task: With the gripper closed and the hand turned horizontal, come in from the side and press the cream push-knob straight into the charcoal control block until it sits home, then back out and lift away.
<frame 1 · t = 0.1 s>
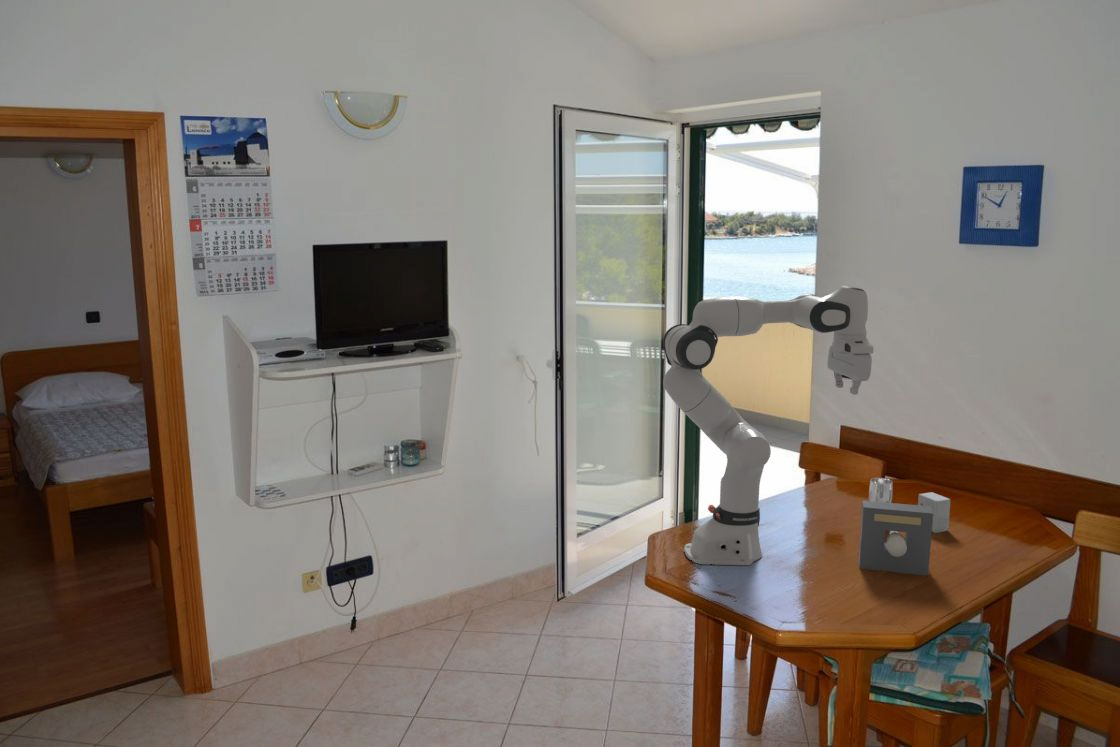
hand: (846, 390, 256), 48 cm above the table, tool pointing down, fingers open, 8 cm apart
control block: (892, 567, 251), on the table
knob: (895, 540, 247), point 9 cm above the table, slide at 0.0 cm
beer glass: (878, 526, 284), on the table
small box: (932, 528, 282), on the table
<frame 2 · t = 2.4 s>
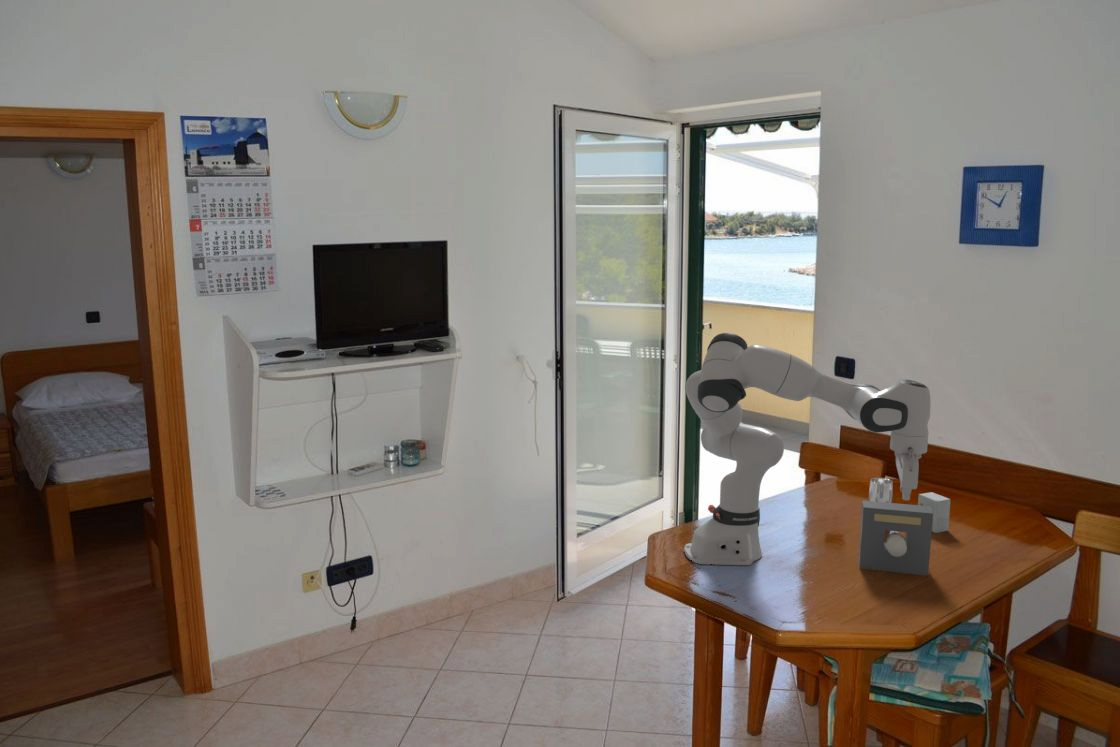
hand: (904, 495, 229), 27 cm above the table, tool pointing down, fingers open, 5 cm apart
nothing on the table moved.
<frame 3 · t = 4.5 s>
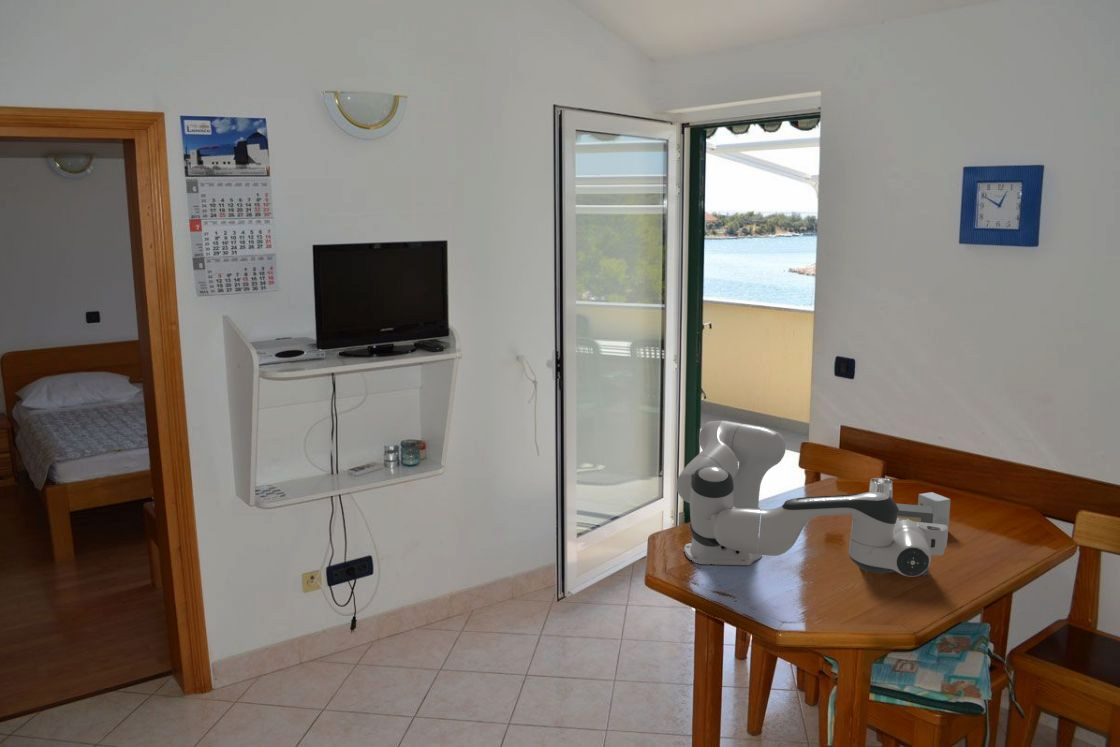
hand: (902, 521, 231), 20 cm above the table, tool horizontal, fingers closed
nothing on the table moved.
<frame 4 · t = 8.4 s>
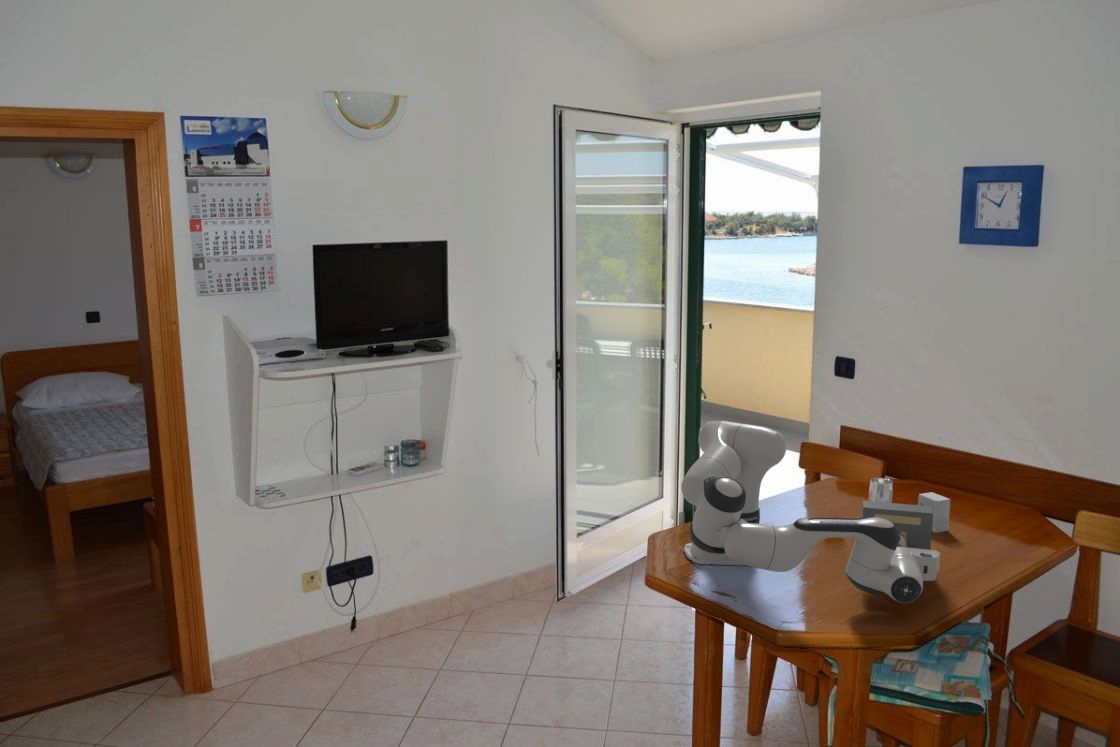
hand: (896, 546, 243), 9 cm above the table, tool horizontal, fingers closed, pressing on knob
knob: (895, 538, 248), point 9 cm above the table, slide at 1.5 cm, touching gripper
everything else where it was.
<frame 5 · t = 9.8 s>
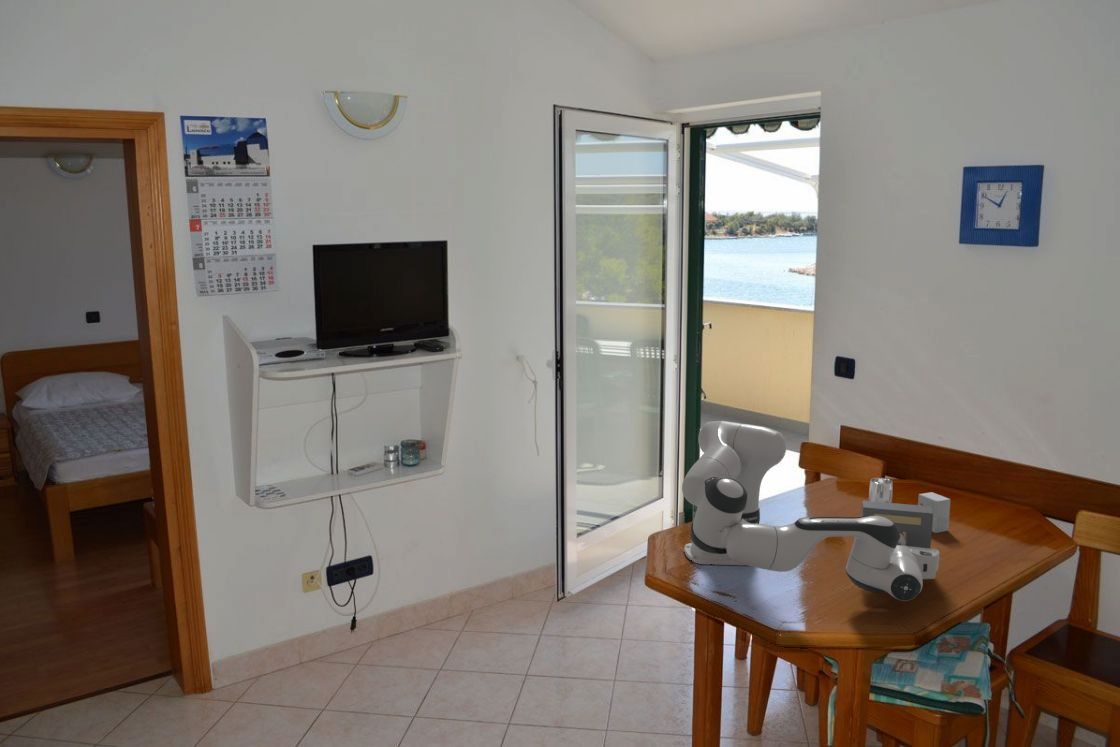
hand: (896, 544, 245), 9 cm above the table, tool horizontal, fingers closed
knob: (894, 535, 251), point 9 cm above the table, slide at 3.8 cm
everything else where it was.
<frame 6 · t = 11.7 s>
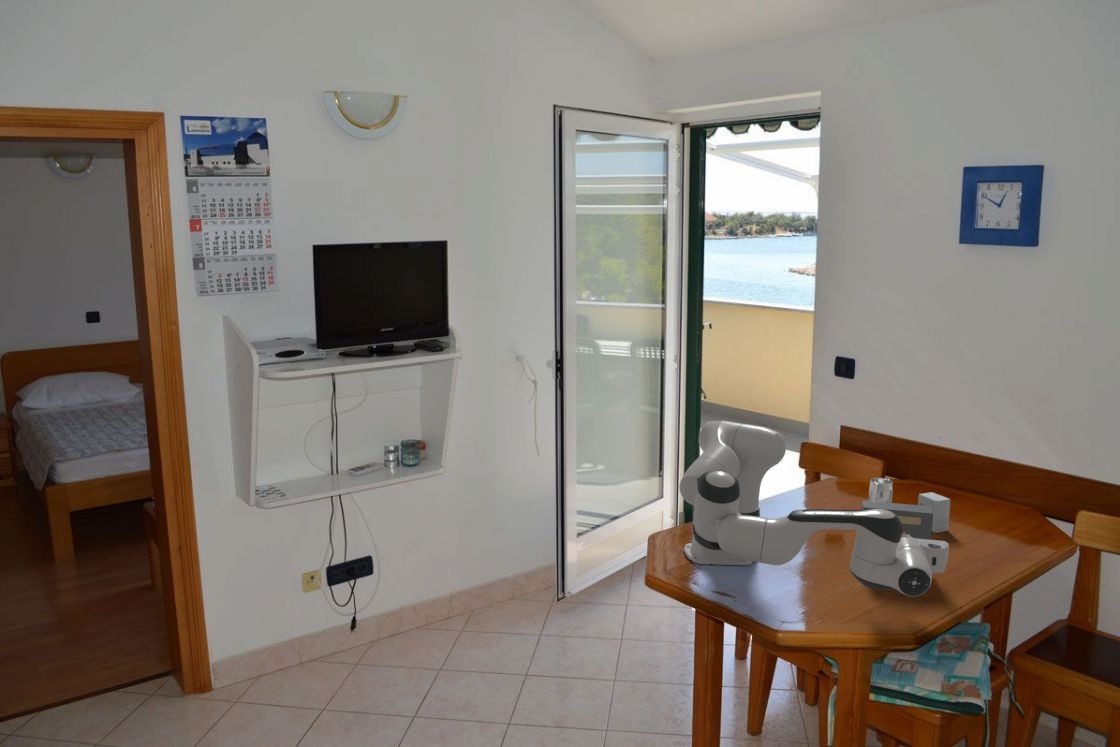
hand: (903, 536, 232), 16 cm above the table, tool horizontal, fingers closed
nothing on the table moved.
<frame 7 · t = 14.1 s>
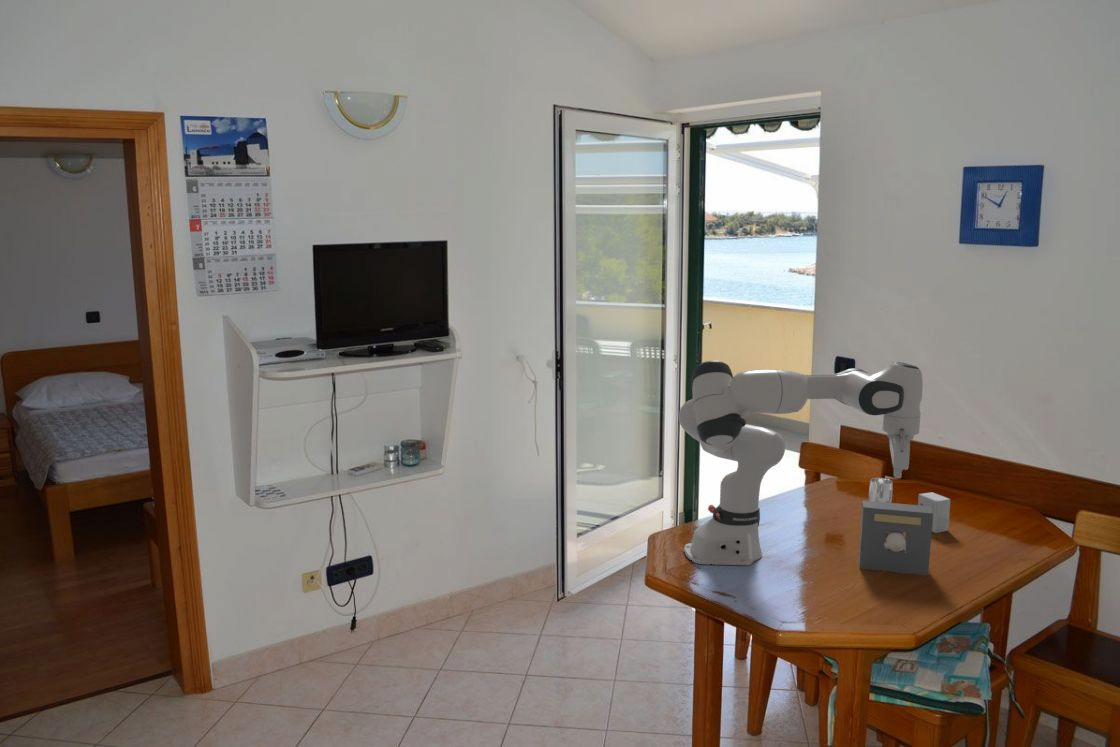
hand: (897, 476, 231), 31 cm above the table, tool pointing down, fingers closed
nothing on the table moved.
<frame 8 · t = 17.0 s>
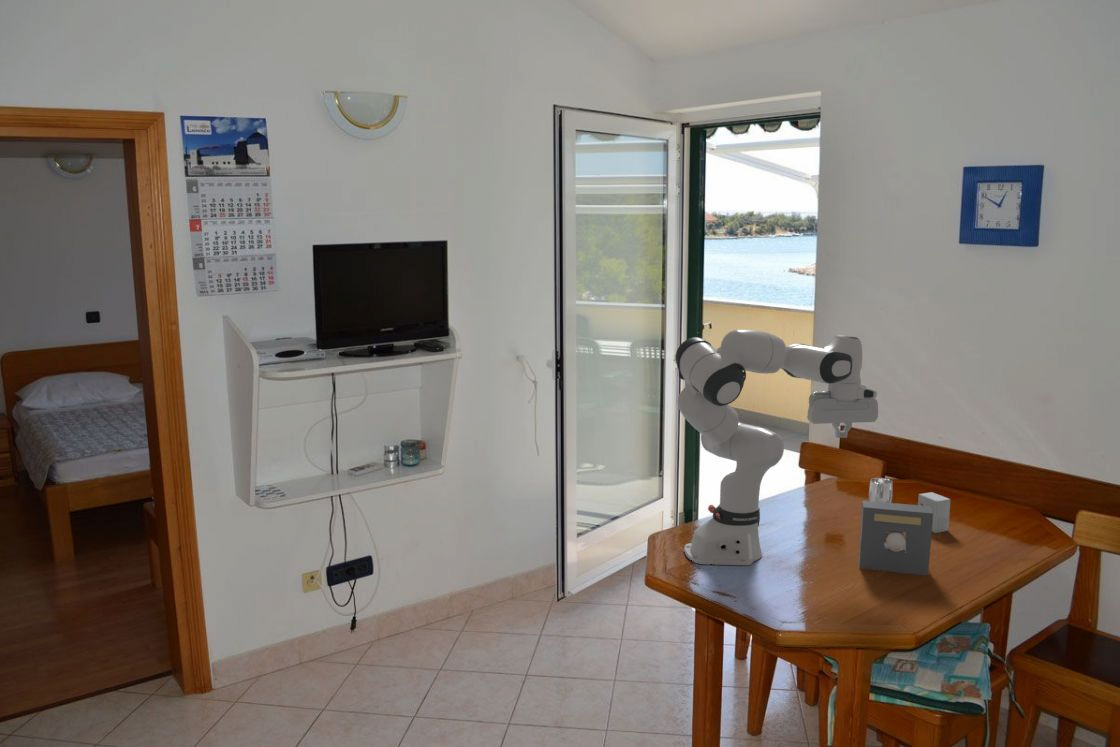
hand: (841, 437, 259), 34 cm above the table, tool pointing down, fingers closed
nothing on the table moved.
at the end: knob slide at 3.8 cm; beer glass moved 0.2 cm from its start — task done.
